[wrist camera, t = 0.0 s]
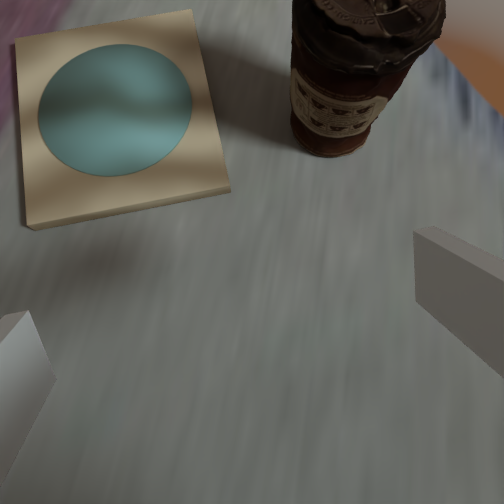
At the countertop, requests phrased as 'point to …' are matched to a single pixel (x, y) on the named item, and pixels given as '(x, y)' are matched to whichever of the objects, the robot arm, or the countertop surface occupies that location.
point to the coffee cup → (352, 65)
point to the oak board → (116, 120)
